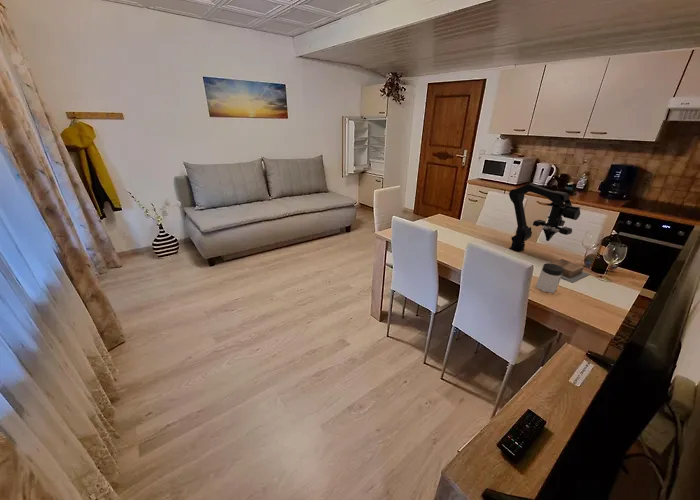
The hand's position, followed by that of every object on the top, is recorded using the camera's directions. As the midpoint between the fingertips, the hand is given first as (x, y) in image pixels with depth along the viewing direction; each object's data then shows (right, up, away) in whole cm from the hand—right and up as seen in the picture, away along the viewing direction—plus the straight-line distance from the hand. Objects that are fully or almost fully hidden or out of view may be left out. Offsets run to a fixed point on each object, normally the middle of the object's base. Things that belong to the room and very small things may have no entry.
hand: (547, 240), depth 171 cm
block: (0, -13, -6) cm, 15 cm away
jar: (-18, -25, -25) cm, 40 cm away
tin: (+26, -16, -4) cm, 30 cm away
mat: (+4, -18, -11) cm, 21 cm away
